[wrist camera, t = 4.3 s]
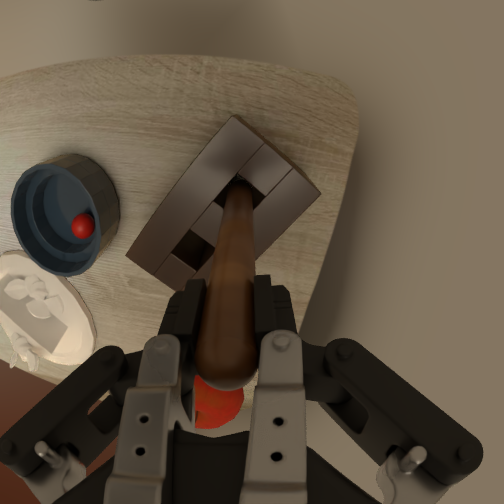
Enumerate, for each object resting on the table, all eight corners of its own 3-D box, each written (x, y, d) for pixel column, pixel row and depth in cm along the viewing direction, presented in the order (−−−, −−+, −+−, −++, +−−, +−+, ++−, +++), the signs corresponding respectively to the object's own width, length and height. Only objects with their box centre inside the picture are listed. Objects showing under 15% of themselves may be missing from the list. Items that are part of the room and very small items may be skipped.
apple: (163, 363, 46) (145, 432, 34) (173, 313, 41) (150, 391, 29) (232, 380, 48) (229, 450, 36) (254, 334, 43) (256, 414, 31)
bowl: (26, 215, 34) (1, 232, 28) (60, 132, 29) (31, 140, 23) (94, 272, 38) (76, 296, 33) (140, 196, 33) (121, 213, 28)
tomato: (75, 223, 34) (63, 232, 31) (84, 204, 33) (72, 213, 30) (93, 237, 35) (82, 247, 32) (103, 219, 34) (91, 229, 31)
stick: (224, 189, 28) (177, 384, 9) (239, 172, 27) (217, 352, 8) (241, 203, 29) (230, 409, 9) (256, 187, 28) (274, 382, 9)
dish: (122, 347, 45) (102, 399, 35) (48, 366, 49) (28, 404, 39) (35, 226, 34) (-12, 264, 24) (-22, 278, 39) (-53, 310, 29)
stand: (148, 225, 35) (124, 255, 28) (236, 114, 29) (232, 115, 22) (212, 272, 38) (204, 311, 31) (305, 174, 32) (322, 193, 25)
